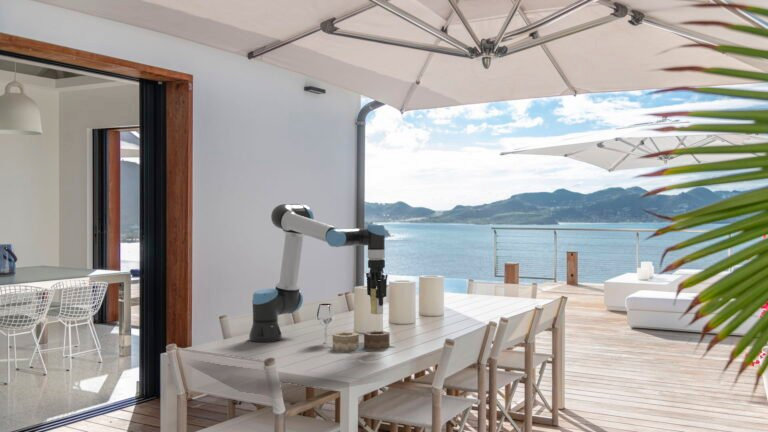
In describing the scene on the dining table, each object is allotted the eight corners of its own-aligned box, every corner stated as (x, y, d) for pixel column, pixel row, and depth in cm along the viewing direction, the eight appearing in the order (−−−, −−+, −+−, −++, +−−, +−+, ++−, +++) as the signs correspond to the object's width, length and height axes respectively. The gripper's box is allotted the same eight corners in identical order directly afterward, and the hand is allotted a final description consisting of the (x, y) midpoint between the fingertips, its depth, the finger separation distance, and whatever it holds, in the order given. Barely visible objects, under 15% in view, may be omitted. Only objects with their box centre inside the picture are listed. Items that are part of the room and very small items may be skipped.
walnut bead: (374, 350, 286) (373, 336, 286) (360, 346, 295) (360, 332, 295) (393, 347, 292) (393, 333, 292) (379, 343, 301) (379, 330, 301)
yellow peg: (375, 314, 291) (375, 289, 291) (370, 313, 294) (370, 288, 294) (382, 313, 293) (382, 288, 293) (377, 312, 296) (377, 287, 296)
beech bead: (341, 351, 284) (341, 337, 283) (328, 347, 292) (328, 333, 292) (362, 348, 290) (362, 334, 290) (349, 344, 298) (349, 331, 298)
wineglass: (320, 346, 298) (320, 306, 298) (314, 343, 305) (313, 304, 305) (337, 344, 302) (337, 304, 302) (330, 341, 309) (330, 302, 309)
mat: (350, 355, 278) (350, 354, 278) (327, 348, 293) (327, 347, 293) (396, 348, 292) (396, 347, 292) (372, 342, 307) (372, 340, 307)
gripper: (394, 259, 289) (395, 313, 289) (372, 257, 302) (372, 309, 302) (380, 260, 284) (381, 315, 284) (358, 258, 298) (359, 310, 298)
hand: (376, 312), depth 293 cm, fingers closed on yellow peg, 4 cm apart
